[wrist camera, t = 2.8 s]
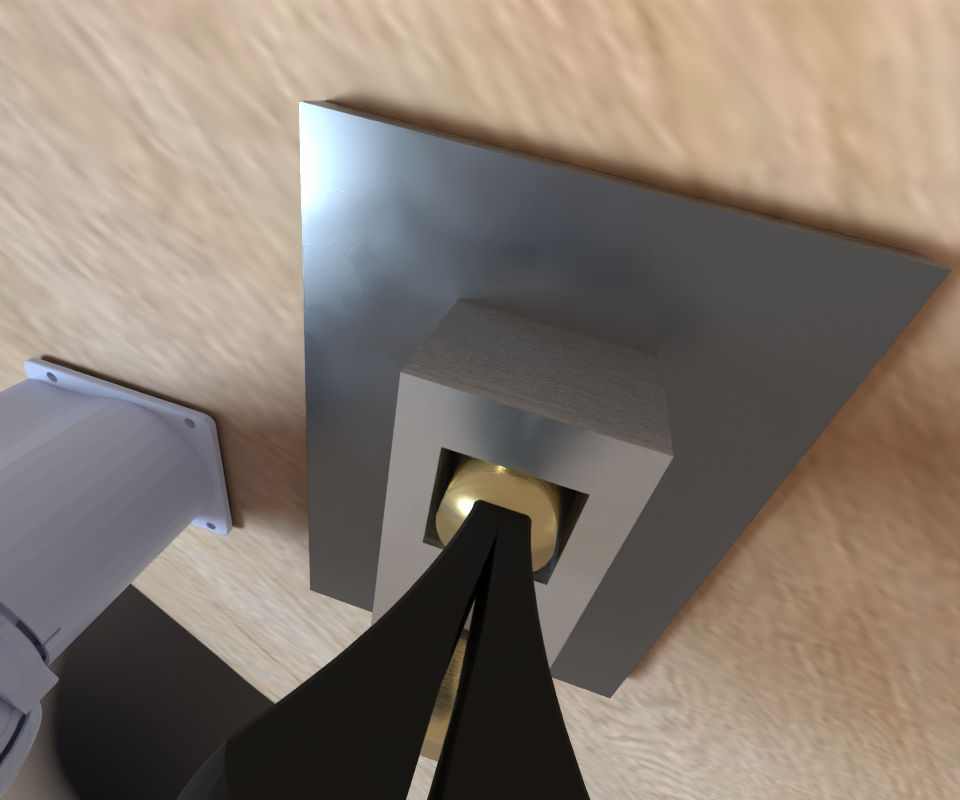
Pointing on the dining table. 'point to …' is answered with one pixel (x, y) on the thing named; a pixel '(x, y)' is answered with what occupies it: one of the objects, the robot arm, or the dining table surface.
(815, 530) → the dining table surface
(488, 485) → the pin
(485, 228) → the plate
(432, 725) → the pin
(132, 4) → the dining table surface
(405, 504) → the housing
